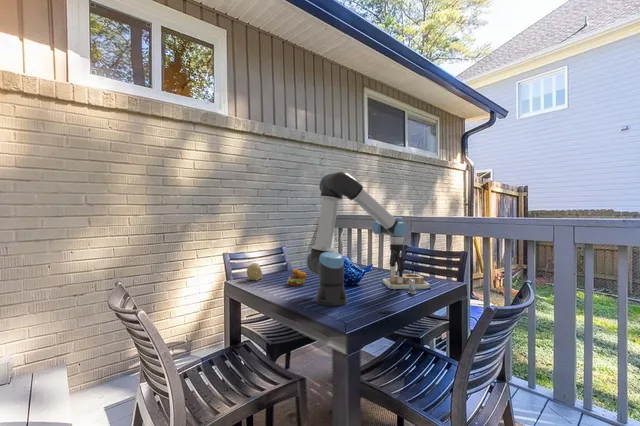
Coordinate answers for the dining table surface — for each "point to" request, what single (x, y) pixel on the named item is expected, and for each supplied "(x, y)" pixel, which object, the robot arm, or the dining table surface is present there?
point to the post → (412, 287)
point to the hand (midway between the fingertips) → (396, 279)
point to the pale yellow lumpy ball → (254, 272)
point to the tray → (417, 286)
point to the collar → (406, 279)
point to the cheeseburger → (297, 278)
